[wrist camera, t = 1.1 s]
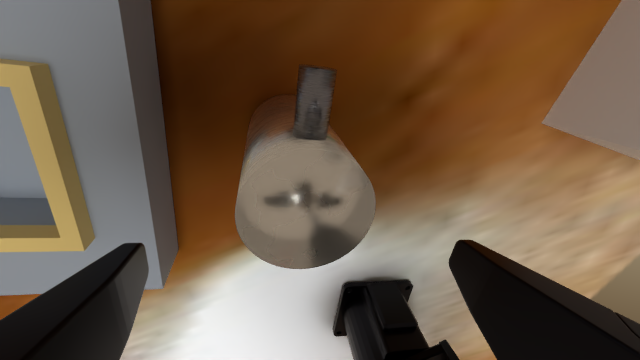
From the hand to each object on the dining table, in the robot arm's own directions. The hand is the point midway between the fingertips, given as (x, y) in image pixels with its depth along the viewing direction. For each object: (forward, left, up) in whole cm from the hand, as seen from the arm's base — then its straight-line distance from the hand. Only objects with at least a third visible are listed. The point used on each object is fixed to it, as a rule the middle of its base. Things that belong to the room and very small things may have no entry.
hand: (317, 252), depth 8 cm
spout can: (+1, 0, -11) cm, 11 cm away
